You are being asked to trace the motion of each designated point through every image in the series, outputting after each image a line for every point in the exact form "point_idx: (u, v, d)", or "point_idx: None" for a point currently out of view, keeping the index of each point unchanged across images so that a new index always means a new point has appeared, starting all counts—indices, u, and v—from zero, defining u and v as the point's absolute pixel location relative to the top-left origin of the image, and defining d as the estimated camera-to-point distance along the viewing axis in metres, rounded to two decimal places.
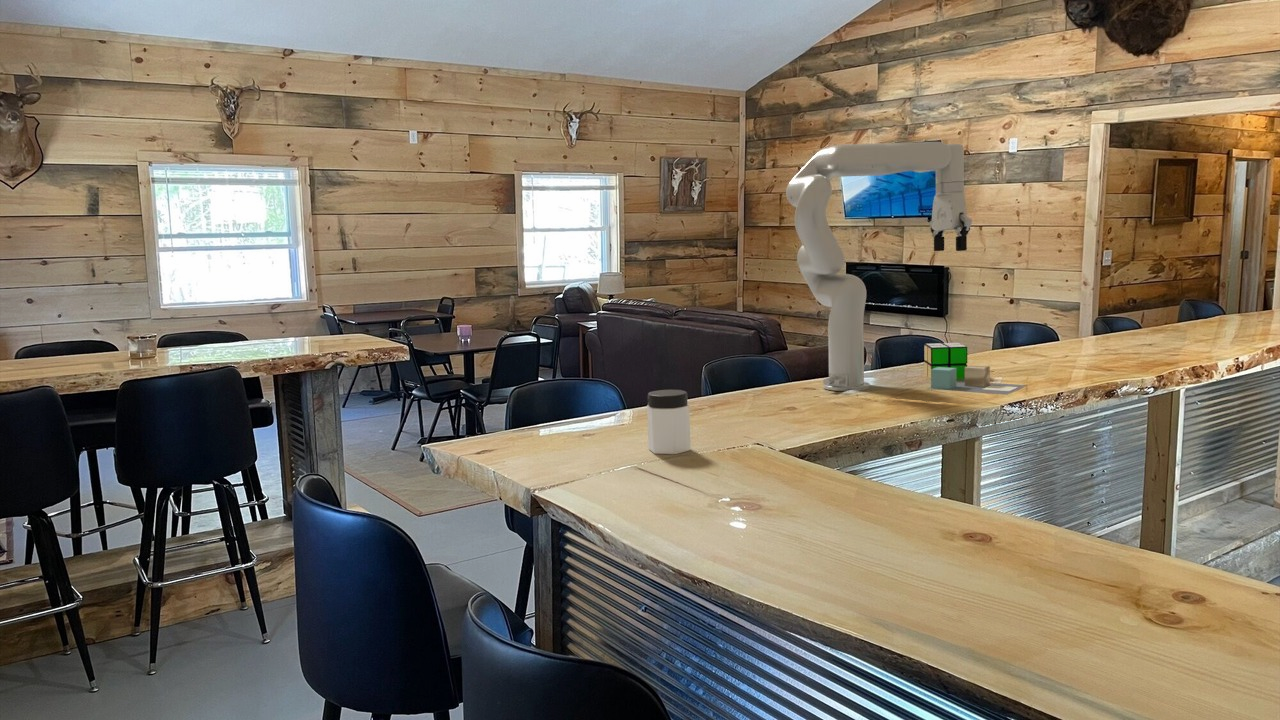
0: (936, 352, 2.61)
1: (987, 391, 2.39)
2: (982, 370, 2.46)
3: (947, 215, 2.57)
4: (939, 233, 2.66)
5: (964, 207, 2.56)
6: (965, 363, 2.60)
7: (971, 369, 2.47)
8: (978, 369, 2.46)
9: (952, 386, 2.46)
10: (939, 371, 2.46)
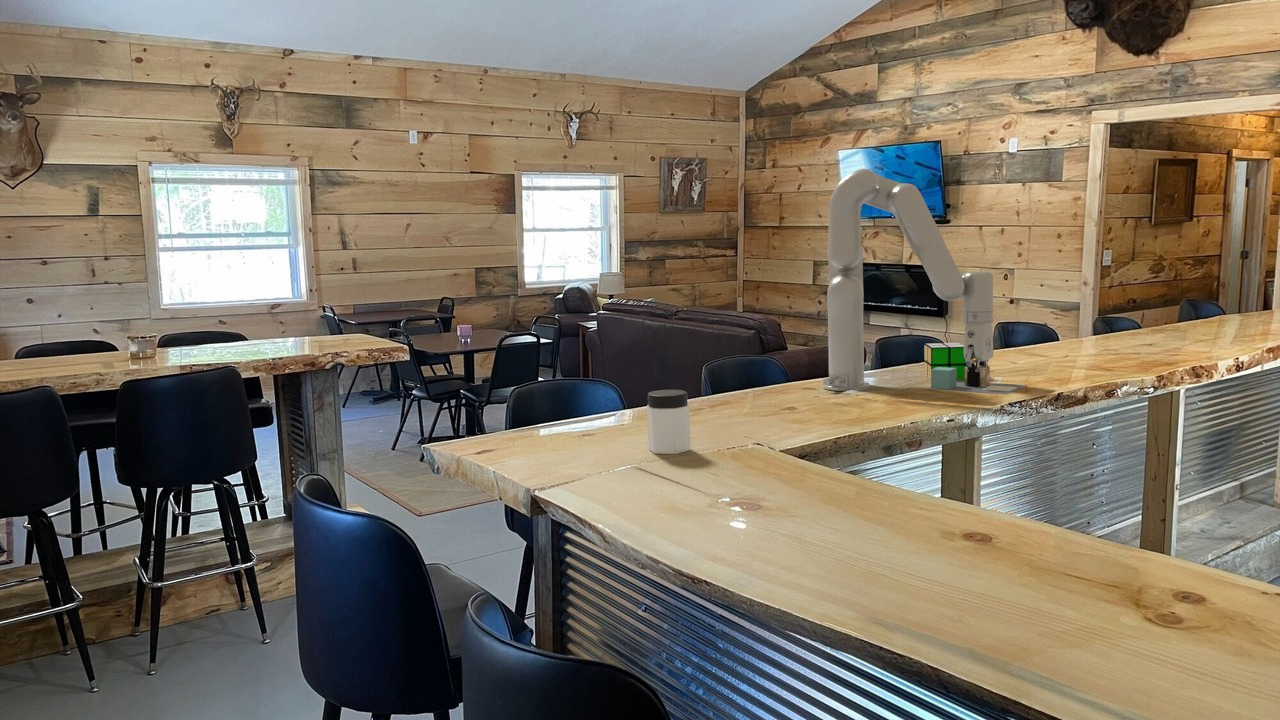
0: (936, 352, 2.61)
1: (987, 391, 2.39)
2: (982, 370, 2.46)
3: (991, 344, 2.48)
4: None
5: None
6: (965, 363, 2.60)
7: None
8: None
9: (952, 386, 2.46)
10: (939, 371, 2.46)
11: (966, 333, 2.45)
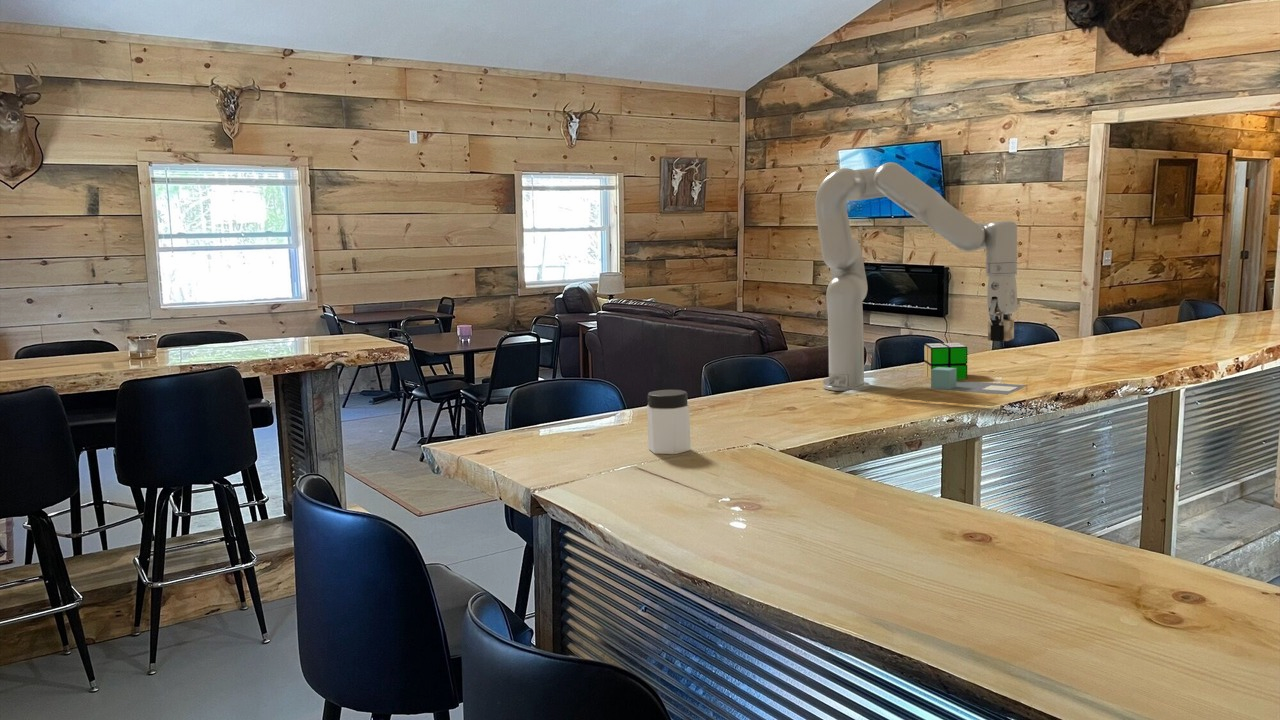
0: (936, 352, 2.61)
1: (987, 391, 2.39)
2: (1006, 323, 2.37)
3: (1015, 296, 2.40)
4: None
5: None
6: (965, 363, 2.60)
7: None
8: None
9: (952, 386, 2.46)
10: (939, 371, 2.46)
11: (989, 285, 2.37)
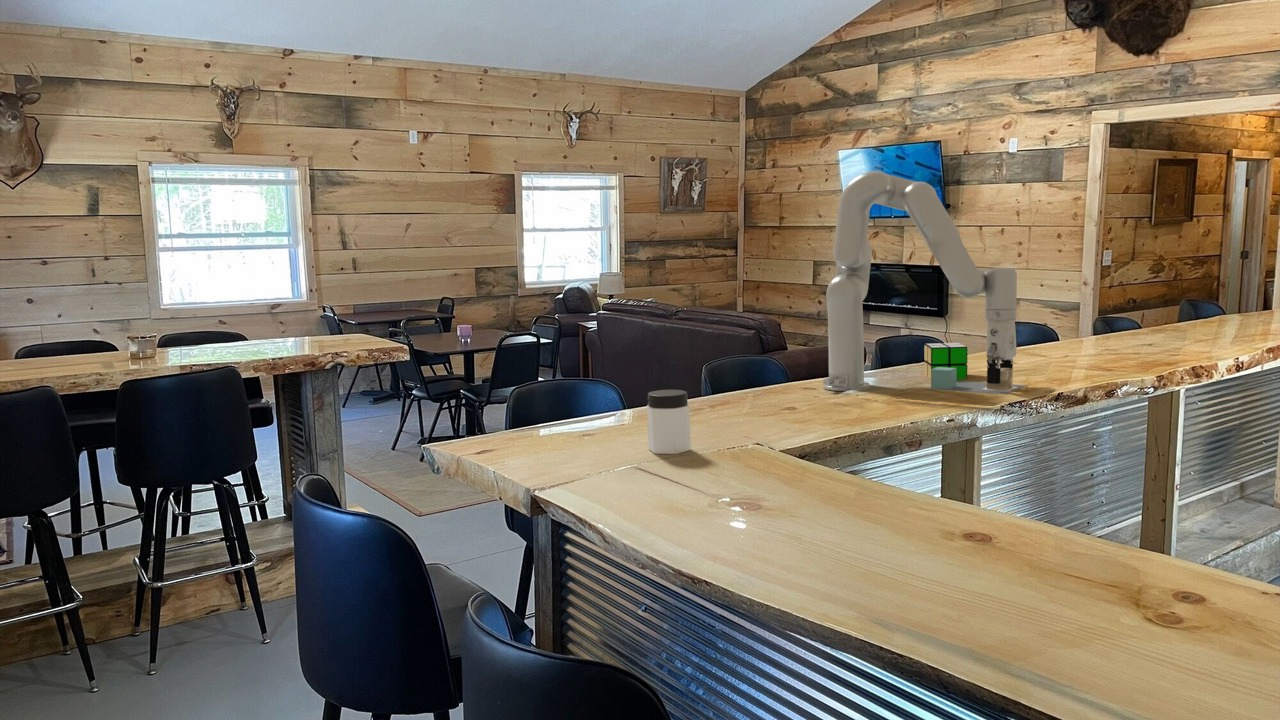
0: (936, 352, 2.61)
1: (987, 391, 2.39)
2: (1005, 373, 2.39)
3: (1014, 342, 2.41)
4: None
5: None
6: (965, 363, 2.60)
7: None
8: (1001, 372, 2.39)
9: (952, 386, 2.46)
10: (939, 371, 2.46)
11: (989, 331, 2.38)
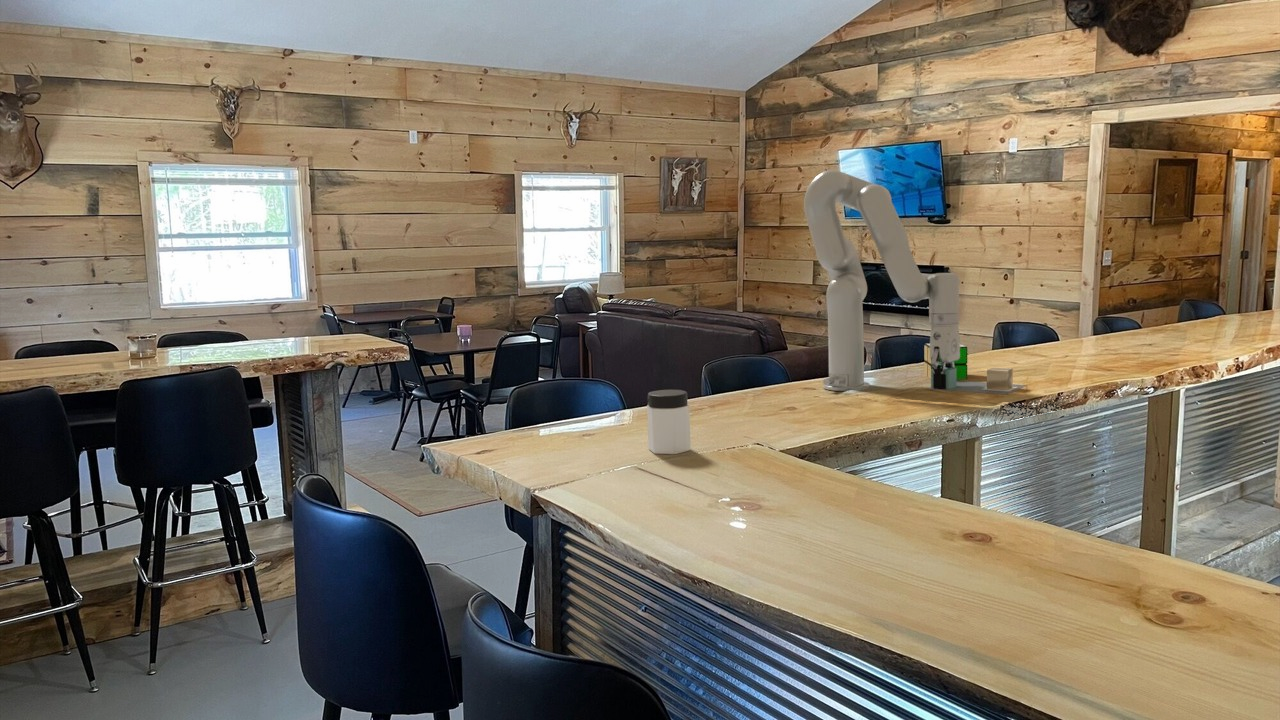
0: None
1: (987, 391, 2.39)
2: (1005, 373, 2.39)
3: (957, 346, 2.47)
4: None
5: None
6: (965, 363, 2.60)
7: (994, 372, 2.41)
8: (1001, 372, 2.39)
9: (952, 386, 2.46)
10: None
11: (932, 335, 2.44)
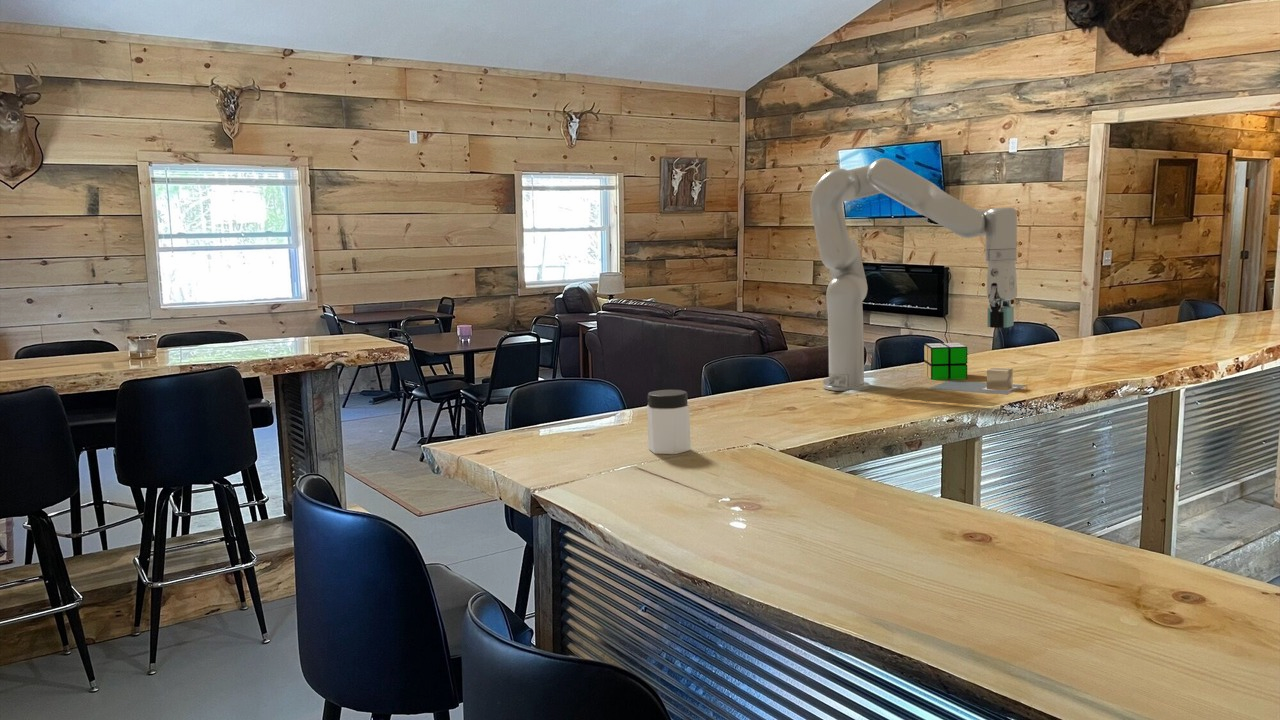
0: (936, 352, 2.61)
1: (987, 391, 2.39)
2: (1005, 373, 2.39)
3: (1014, 283, 2.39)
4: None
5: None
6: (965, 363, 2.60)
7: (994, 372, 2.41)
8: (1001, 372, 2.39)
9: (1010, 325, 2.39)
10: None
11: (989, 271, 2.36)
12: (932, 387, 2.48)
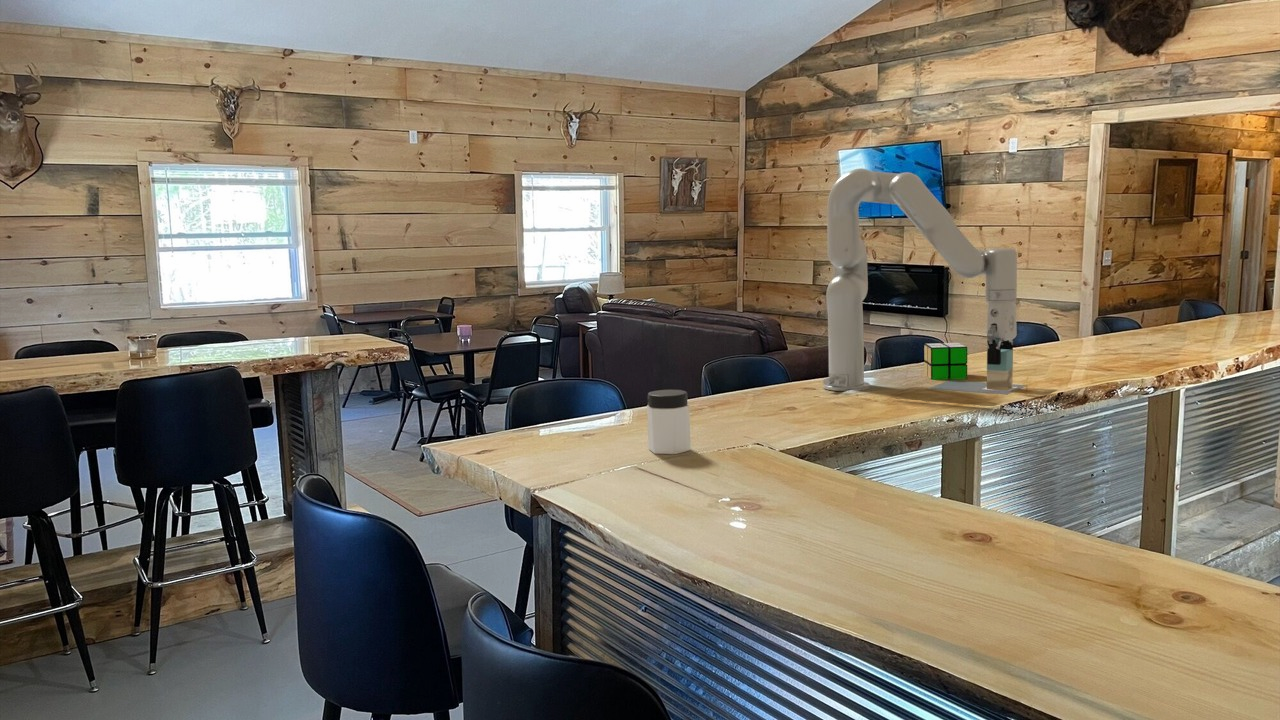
0: (936, 352, 2.61)
1: (987, 391, 2.39)
2: (1005, 373, 2.39)
3: (1014, 323, 2.41)
4: None
5: None
6: (965, 363, 2.60)
7: (994, 372, 2.41)
8: (1001, 372, 2.39)
9: (1009, 368, 2.40)
10: None
11: (989, 312, 2.37)
12: (932, 387, 2.48)
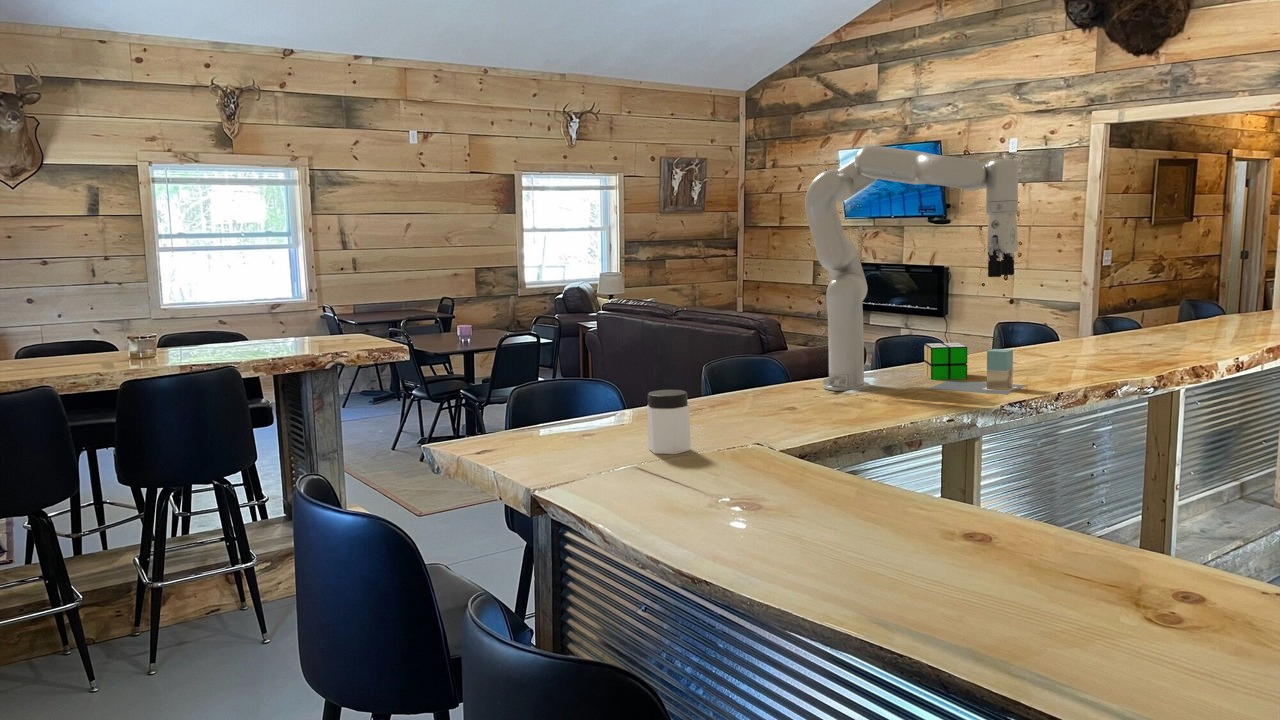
0: (936, 352, 2.61)
1: (987, 391, 2.39)
2: (1005, 373, 2.39)
3: (1015, 236, 2.38)
4: None
5: None
6: (965, 363, 2.60)
7: (994, 372, 2.41)
8: (1001, 372, 2.39)
9: (1009, 368, 2.40)
10: (996, 353, 2.40)
11: (990, 224, 2.35)
12: (932, 387, 2.48)
